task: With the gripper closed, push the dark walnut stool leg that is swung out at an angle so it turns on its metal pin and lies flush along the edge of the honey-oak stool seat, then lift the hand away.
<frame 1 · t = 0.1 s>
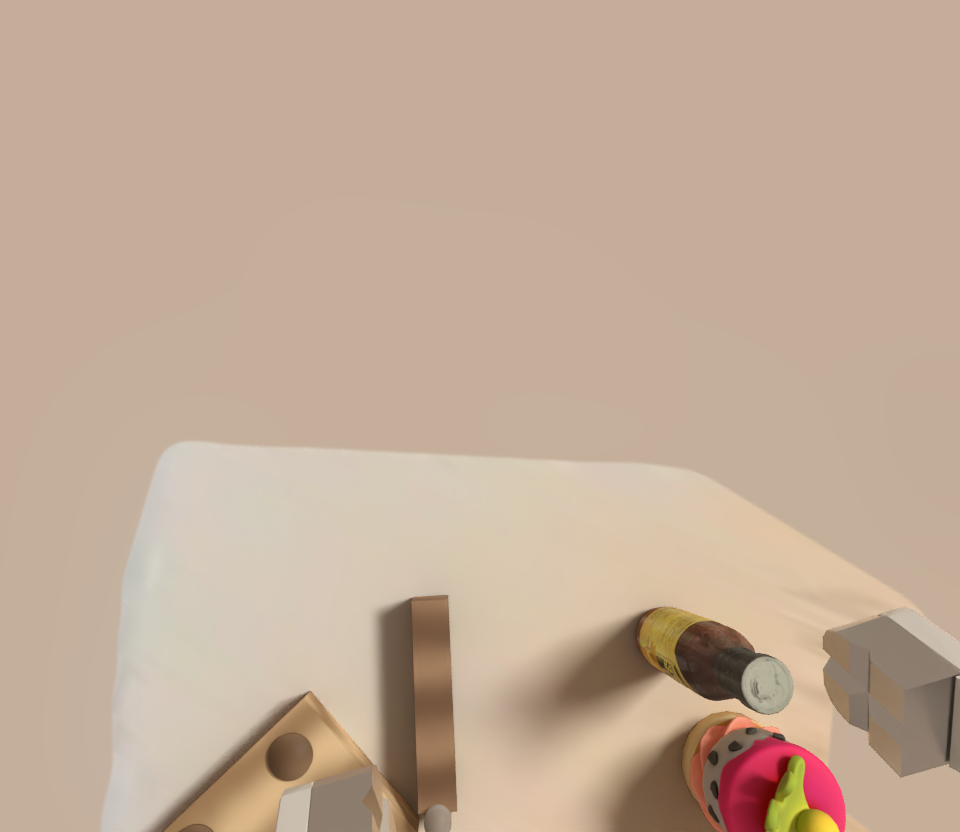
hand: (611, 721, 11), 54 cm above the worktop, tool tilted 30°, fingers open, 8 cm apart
hinged leg: (434, 708, 59), point 3 cm above the worktop, hinge at -40.0°
sauce bottle: (664, 636, 64), on the worktop
cake: (728, 763, 62), on the worktop
stool seat: (292, 824, 59), on the worktop
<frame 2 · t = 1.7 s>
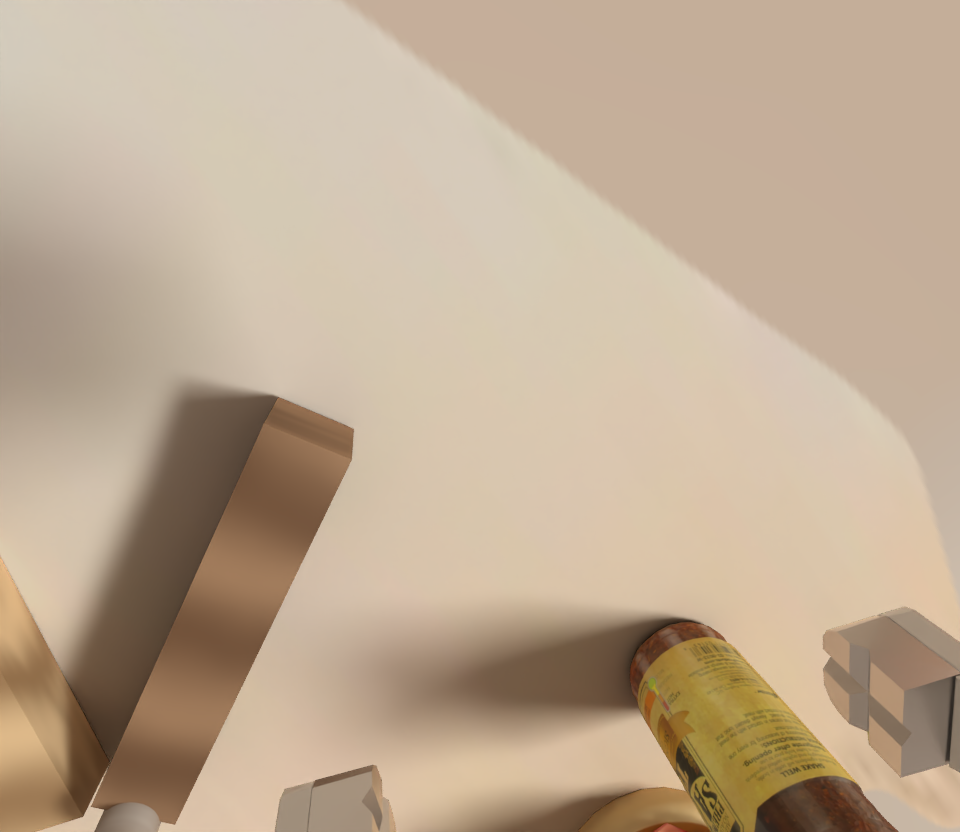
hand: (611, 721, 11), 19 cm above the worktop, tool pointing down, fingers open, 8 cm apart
hinged leg: (216, 635, 26), point 3 cm above the worktop, hinge at -40.0°
sauce bottle: (675, 662, 35), on the worktop
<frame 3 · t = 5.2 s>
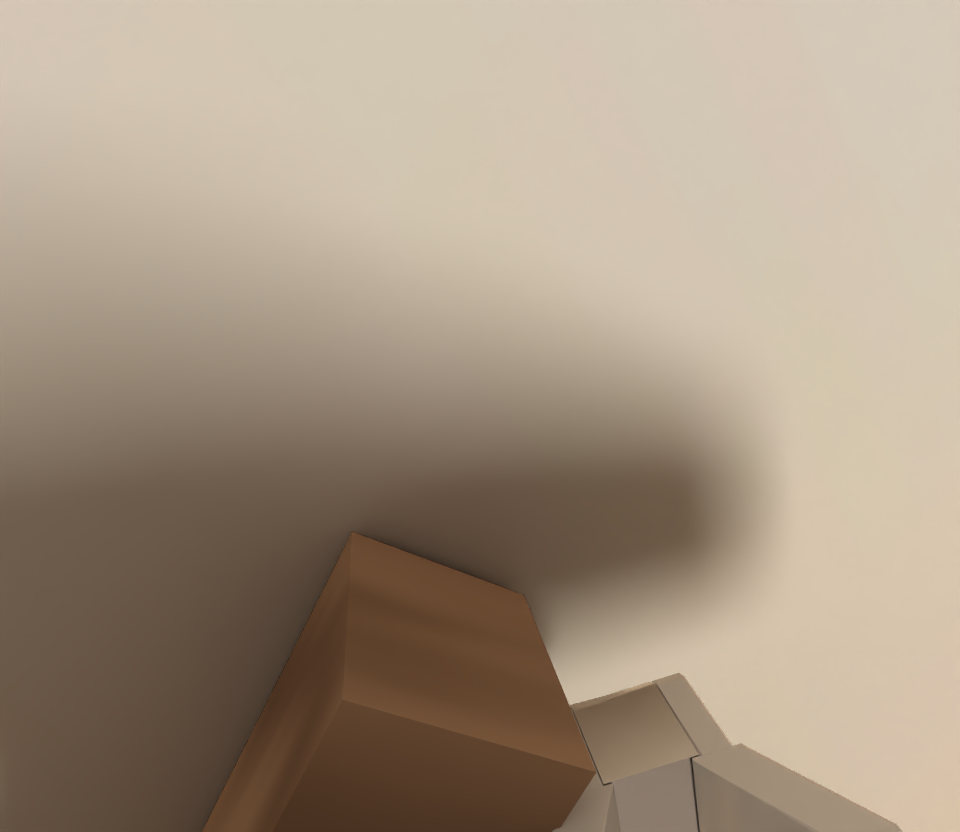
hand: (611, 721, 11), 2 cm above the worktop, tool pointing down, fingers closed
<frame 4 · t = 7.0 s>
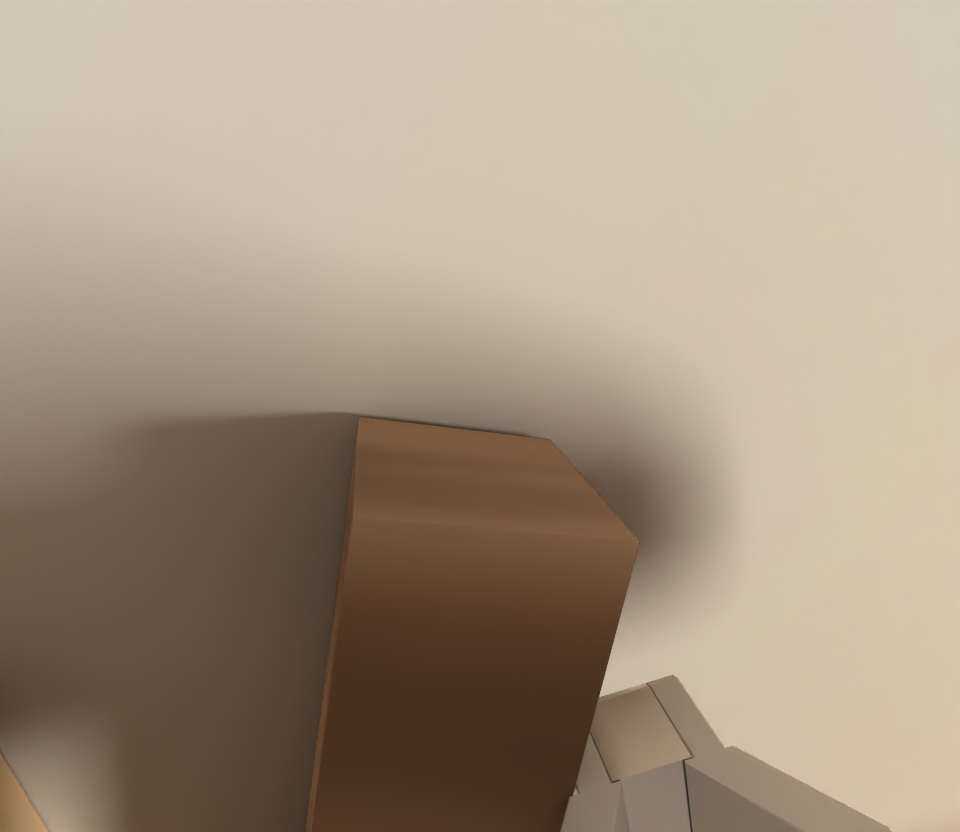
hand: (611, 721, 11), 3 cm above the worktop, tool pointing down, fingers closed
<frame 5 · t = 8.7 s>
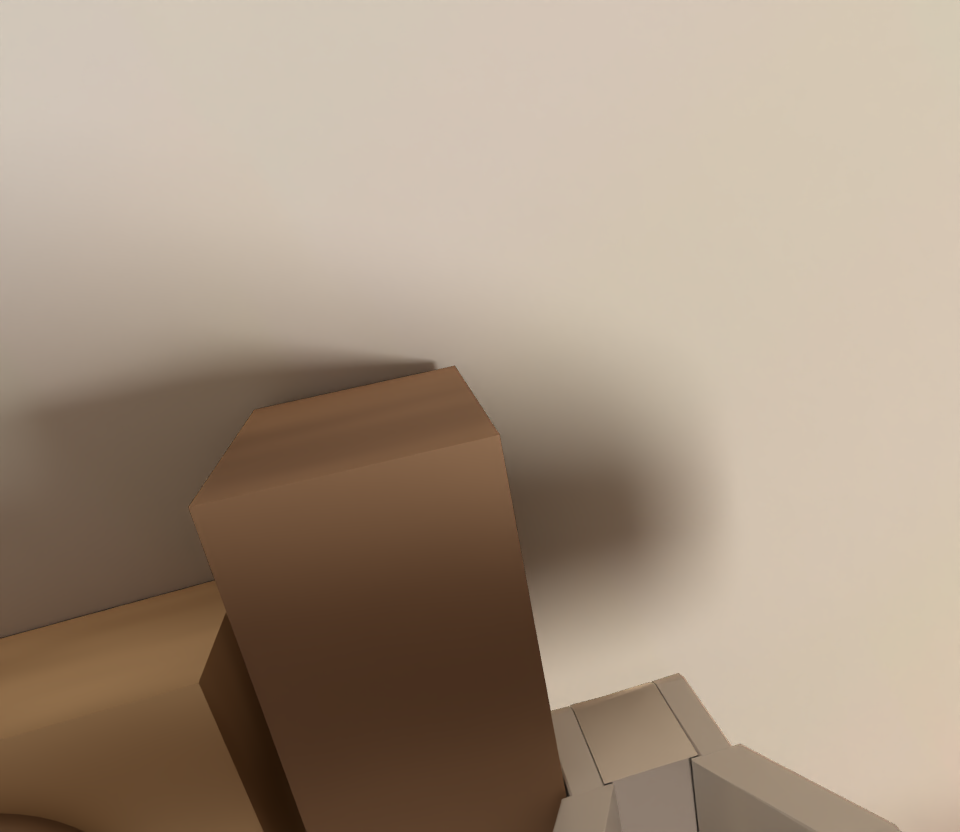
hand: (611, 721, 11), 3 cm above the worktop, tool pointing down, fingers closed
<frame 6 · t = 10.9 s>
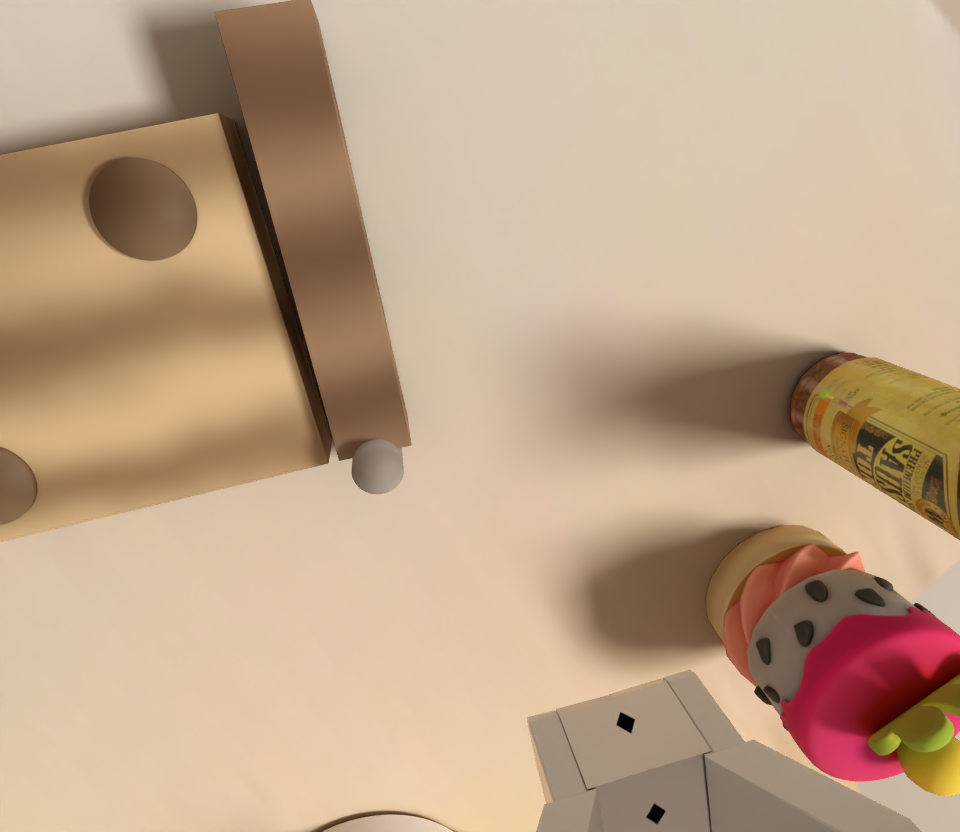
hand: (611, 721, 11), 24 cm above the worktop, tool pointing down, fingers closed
hinged leg: (333, 273, 28), point 3 cm above the worktop, hinge at -1.4°
sauce bottle: (829, 399, 38), on the worktop
cake: (770, 586, 42), on the worktop
stool seat: (103, 336, 30), on the worktop
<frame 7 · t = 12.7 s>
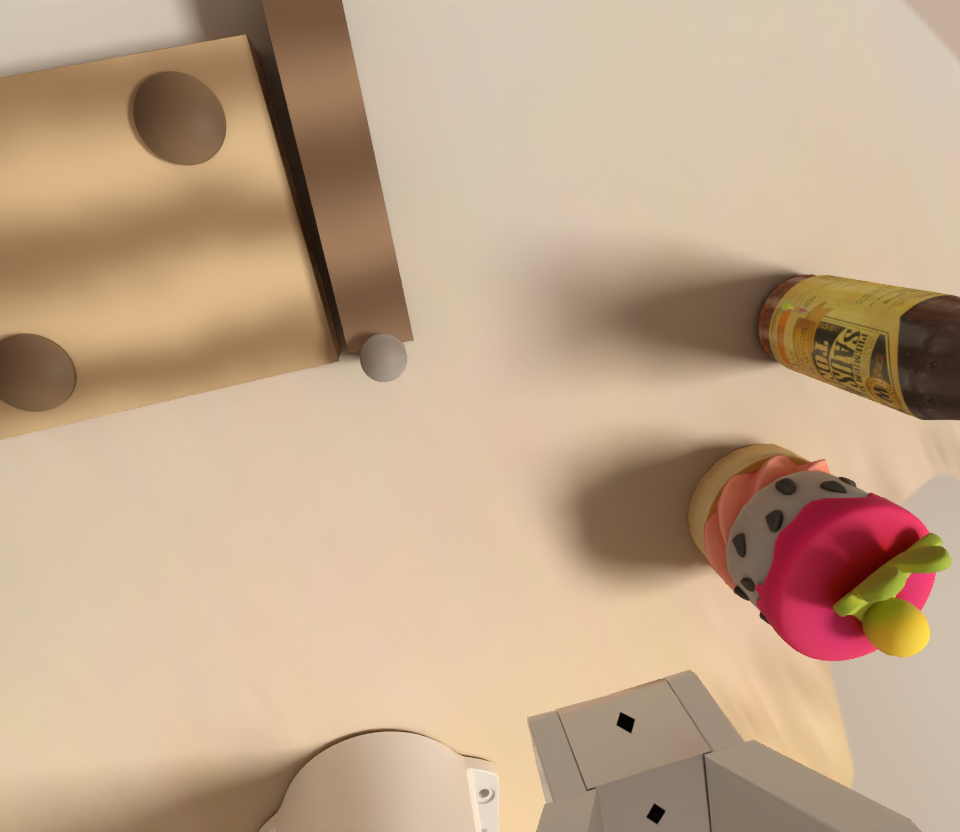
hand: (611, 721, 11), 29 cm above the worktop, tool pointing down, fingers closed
hinged leg: (344, 182, 32), point 3 cm above the worktop, hinge at -1.4°
sauce bottle: (793, 321, 42), on the worktop
cake: (748, 505, 45), on the worktop
stool seat: (136, 246, 33), on the worktop
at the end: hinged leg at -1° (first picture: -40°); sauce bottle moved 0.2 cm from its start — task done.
